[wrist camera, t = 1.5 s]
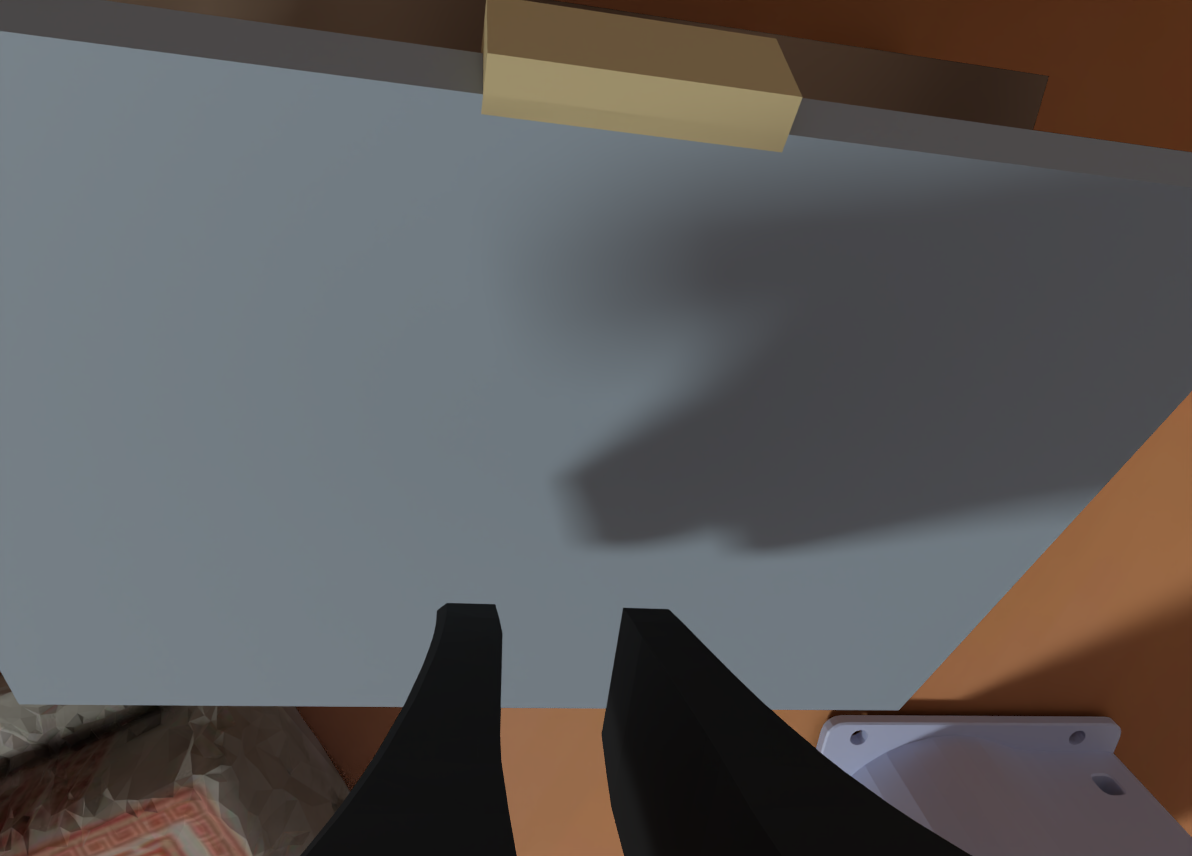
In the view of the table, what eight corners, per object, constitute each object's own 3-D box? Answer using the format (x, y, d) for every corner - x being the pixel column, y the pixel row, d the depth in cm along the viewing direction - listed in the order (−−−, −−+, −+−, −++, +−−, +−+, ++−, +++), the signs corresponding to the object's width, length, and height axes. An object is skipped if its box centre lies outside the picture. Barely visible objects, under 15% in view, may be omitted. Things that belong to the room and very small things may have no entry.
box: (911, 64, 20) (1048, 76, 16) (793, 553, 25) (873, 673, 20) (101, -58, 17) (-21, -88, 12) (134, 526, 22) (53, 660, 17)
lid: (1320, 121, 11) (1385, 178, 10) (882, 657, 20) (898, 710, 20) (-326, -129, 8) (-416, -74, 7) (40, 642, 17) (18, 704, 16)
